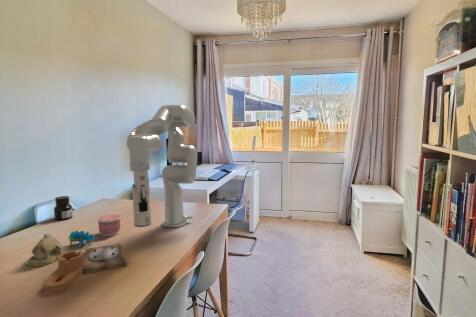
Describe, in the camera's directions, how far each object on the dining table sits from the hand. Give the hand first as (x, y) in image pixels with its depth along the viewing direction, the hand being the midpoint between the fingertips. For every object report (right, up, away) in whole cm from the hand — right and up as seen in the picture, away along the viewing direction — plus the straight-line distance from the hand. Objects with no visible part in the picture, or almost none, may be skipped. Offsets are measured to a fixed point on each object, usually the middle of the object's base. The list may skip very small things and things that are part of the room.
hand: (142, 208), depth 131 cm
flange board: (-14, -19, -5) cm, 24 cm away
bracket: (-20, -22, -21) cm, 36 cm away
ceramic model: (-37, -20, -4) cm, 42 cm away
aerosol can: (0, -7, +1) cm, 7 cm away
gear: (-30, -18, +10) cm, 36 cm away
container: (-23, -16, +24) cm, 37 cm away
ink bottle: (-59, -13, +48) cm, 77 cm away
